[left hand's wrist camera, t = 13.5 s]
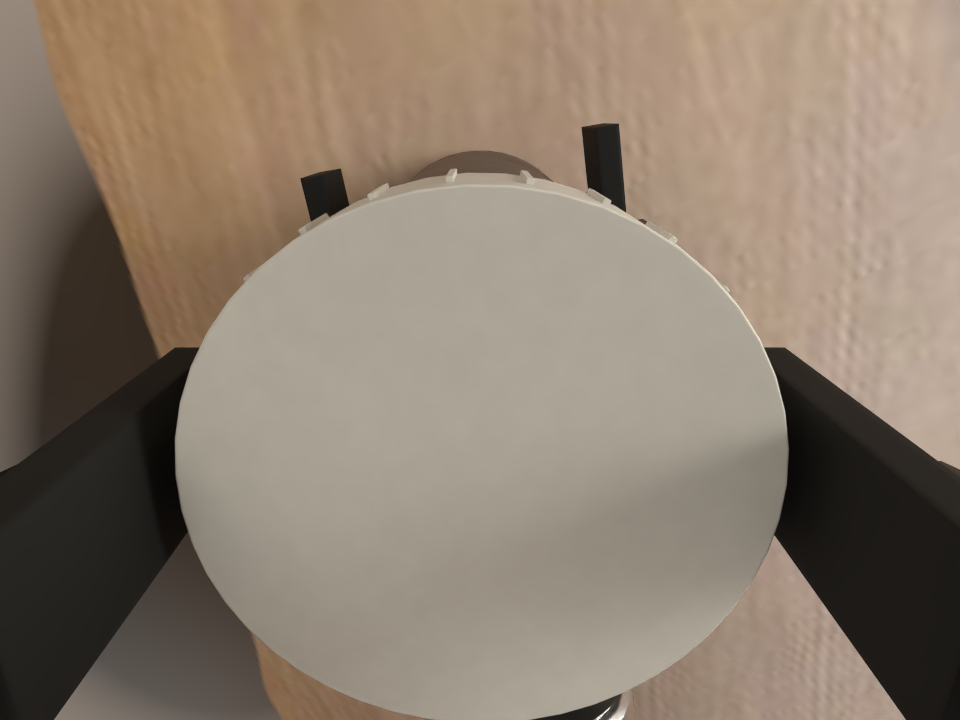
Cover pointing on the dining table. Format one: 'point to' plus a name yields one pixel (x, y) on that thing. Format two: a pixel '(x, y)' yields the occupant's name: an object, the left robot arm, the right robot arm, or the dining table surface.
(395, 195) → the lid
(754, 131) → the dining table surface
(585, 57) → the dining table surface
